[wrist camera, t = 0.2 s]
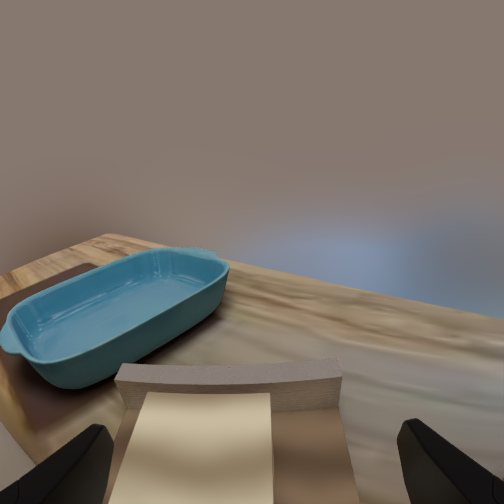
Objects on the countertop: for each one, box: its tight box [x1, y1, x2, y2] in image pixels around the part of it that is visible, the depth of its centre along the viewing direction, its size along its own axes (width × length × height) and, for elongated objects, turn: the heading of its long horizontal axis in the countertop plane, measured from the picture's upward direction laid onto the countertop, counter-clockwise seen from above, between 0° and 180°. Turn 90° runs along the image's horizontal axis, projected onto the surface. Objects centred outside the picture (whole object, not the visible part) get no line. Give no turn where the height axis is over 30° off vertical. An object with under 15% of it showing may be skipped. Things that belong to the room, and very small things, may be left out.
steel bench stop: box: [114, 358, 342, 413], centre depth 26 cm, size 2×20×4 cm, turn 89°
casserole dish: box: [0, 247, 229, 389], centre depth 42 cm, size 37×22×7 cm, turn 143°
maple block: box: [108, 392, 275, 504], centre depth 14 cm, size 12×8×8 cm, turn 179°
